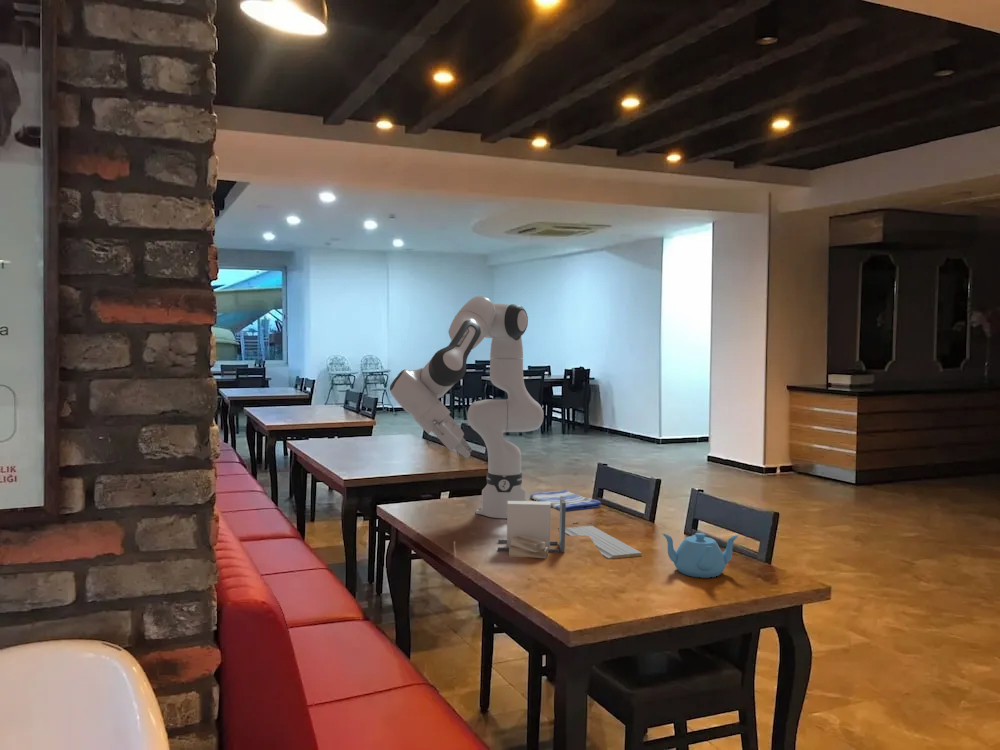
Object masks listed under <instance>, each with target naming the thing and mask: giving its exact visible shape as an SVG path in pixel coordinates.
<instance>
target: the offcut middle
mask: <svg viewBox="0 0 1000 750" xmlns="http://www.w3.org/2000/svg"><path fill="white" fill-rule="evenodd" d="M508 555H509V556H510V555H512V556H523V557H522V558H532V557H534V558H536V559H537V558H538V559H547V558H546V557H548V555H549V552H548V547H545V550H542V551H538V552H533V551H529V550H526V549H522V548H519V547H516V546H512V545H511V546H510V548H509V551H508Z"/></svg>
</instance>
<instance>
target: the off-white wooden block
mask: <svg viewBox="0 0 1000 750" xmlns="http://www.w3.org/2000/svg"><path fill="white" fill-rule="evenodd" d="M551 508H552V507H551V504H550V502H544V501H535V500H526V501H508V509H507V518H506V520H507V521H506V540H507V544H506V548H510V546H511V538H513V537H517V536H521V535H522V536H525V537H529V538H532V539H536V540H540V541H543V542H546V545H545V547H548V549H551V547H550V546H551V545H550V541H551V512H552V511H551Z"/></svg>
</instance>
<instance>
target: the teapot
mask: <svg viewBox="0 0 1000 750" xmlns="http://www.w3.org/2000/svg"><path fill="white" fill-rule="evenodd" d="M661 534H662V535H663V536H664V538H665V539H666V542H667V554H668V555H667V556H668V558H669V559H670V560H671V562H673V565H674V567H675V568H676V569H677V570H678V571H679V573H681V574H682V575H685V576H689V577H694V578H699V577H700V579H701V578H702V579H705V578H706V579H708V578H710V577H712V578H717V577H719V576H720V575H721V574H723V572H724V571H725V569H726V565H727V564H729V562H730V561H731V559H732V556H733V548H734V547H733V544H734V542H735V541H736V539H738V537H739V535H732V536H730V537H729V538H728V540H727V541H726V547H725V550H724V551H722V549H721V548H720V546H719V544H718V542H717V541H716V540H715V539H714V538H711V537H708V536H706V535H707V534H705V532H695V534H692V535H690V536H686V537H685V538H684V539H683V540H682V541H681V543H680V544H679V546H678V548H677V549H676V550H675V548H674V541H673V537H671V535H669V534H666V533H661ZM716 576H717V577H716ZM710 579H711V578H710Z"/></svg>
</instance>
